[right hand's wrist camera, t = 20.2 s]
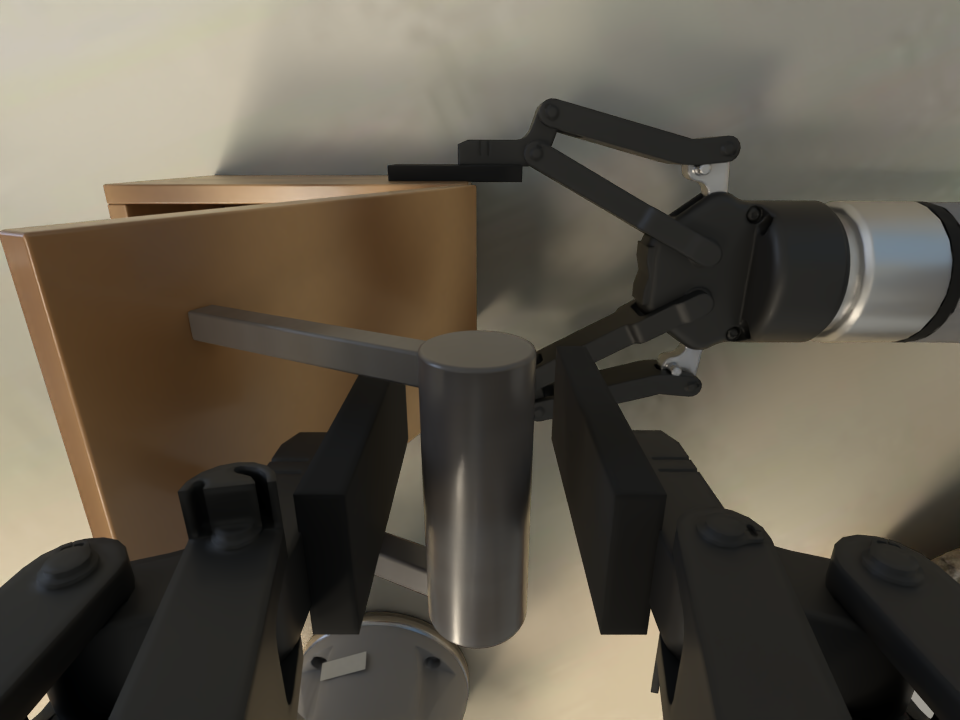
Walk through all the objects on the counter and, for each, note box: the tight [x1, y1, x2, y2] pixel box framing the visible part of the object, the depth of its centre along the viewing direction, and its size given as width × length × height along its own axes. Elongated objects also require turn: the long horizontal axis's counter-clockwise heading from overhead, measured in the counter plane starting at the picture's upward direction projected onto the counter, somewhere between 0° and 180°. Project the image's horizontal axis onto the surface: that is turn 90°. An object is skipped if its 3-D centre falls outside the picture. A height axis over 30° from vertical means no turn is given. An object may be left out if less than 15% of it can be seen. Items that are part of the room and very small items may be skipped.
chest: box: [103, 175, 471, 219], centre depth 30 cm, size 16×10×11 cm, turn 90°
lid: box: [0, 185, 537, 648], centre depth 16 cm, size 17×10×9 cm
